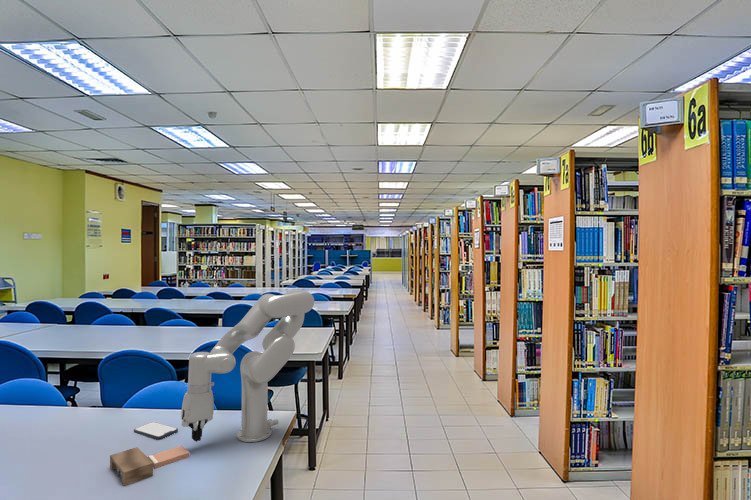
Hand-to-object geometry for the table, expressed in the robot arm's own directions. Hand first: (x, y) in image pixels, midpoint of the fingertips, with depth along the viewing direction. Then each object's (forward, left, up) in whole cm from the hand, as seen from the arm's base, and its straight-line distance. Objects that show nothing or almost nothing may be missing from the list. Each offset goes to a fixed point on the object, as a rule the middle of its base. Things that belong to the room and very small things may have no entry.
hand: (196, 439), depth 148 cm
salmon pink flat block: (+9, 0, -4) cm, 10 cm away
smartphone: (+5, -25, -4) cm, 26 cm away
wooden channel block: (+21, 0, -3) cm, 21 cm away
